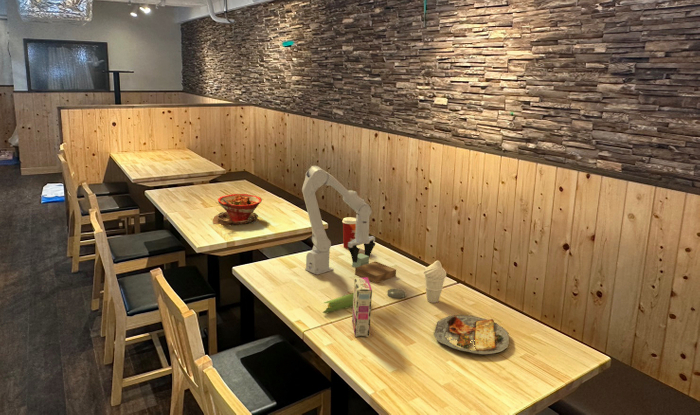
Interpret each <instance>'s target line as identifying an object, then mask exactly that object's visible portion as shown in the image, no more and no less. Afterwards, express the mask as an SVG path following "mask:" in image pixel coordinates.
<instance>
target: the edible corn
mask: <svg viewBox="0 0 700 415" xmlns="http://www.w3.org/2000/svg"><path fill="white" fill-rule="evenodd" d="M353 295H354V292H351V293H349V294H346V295H345V294H344V295H343V296H340V297H337V298H334V299H329V300H327V301H324V302H323V304H326V305H327V308H326V309H325V310H324V311H322V313H323V314H328V313H330V312H336V311H339V310H343V309H347V308H351V307H352V308H353Z"/></svg>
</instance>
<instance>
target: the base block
mask: <svg viewBox="0 0 700 415" xmlns="http://www.w3.org/2000/svg"><path fill="white" fill-rule="evenodd" d="M354 268H355V267H354ZM354 274H355V275H357V277H367V278H368V279H369V282H372V283H373V284H378V283H380V282H383V281H386V280H389V279H391V278H395V277H396V276H397V269H396V268H393V267H390V266H388V265H386V264H383V263H382V262H378V261H376V260H375V261H373V262H369V264H365V265H362V266H359V267H356V268H355V272H354Z"/></svg>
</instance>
